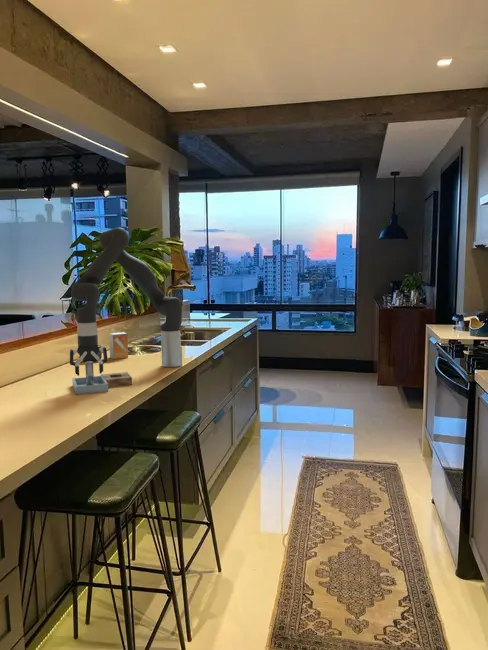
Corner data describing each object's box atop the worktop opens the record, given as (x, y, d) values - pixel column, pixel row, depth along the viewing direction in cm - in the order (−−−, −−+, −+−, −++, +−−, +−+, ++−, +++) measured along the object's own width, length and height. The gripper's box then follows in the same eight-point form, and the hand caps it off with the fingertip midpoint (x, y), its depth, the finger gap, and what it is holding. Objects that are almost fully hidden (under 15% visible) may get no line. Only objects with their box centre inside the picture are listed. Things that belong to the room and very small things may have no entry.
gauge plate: (127, 378, 216) (127, 372, 215) (131, 384, 205) (131, 377, 205) (101, 381, 211) (100, 374, 211) (104, 387, 201) (104, 380, 201)
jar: (106, 359, 260) (105, 344, 259) (94, 363, 251) (93, 347, 250) (89, 358, 264) (89, 343, 263) (77, 361, 254) (76, 347, 253)
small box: (113, 359, 260) (112, 334, 258) (109, 357, 265) (108, 333, 263) (128, 357, 264) (127, 333, 262) (124, 355, 269) (123, 331, 268)
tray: (103, 382, 209) (102, 375, 209) (108, 391, 195) (107, 384, 194) (72, 385, 205) (72, 378, 204) (75, 394, 190) (75, 387, 190)
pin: (93, 385, 202) (92, 361, 200) (94, 387, 199) (93, 362, 198) (86, 386, 200) (84, 361, 199) (86, 388, 198) (85, 363, 196)
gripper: (104, 331, 203) (106, 370, 205) (67, 333, 198) (69, 374, 200) (107, 333, 196) (109, 374, 198) (68, 336, 191) (71, 377, 193)
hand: (89, 374), depth 199 cm, fingers open, 8 cm apart
